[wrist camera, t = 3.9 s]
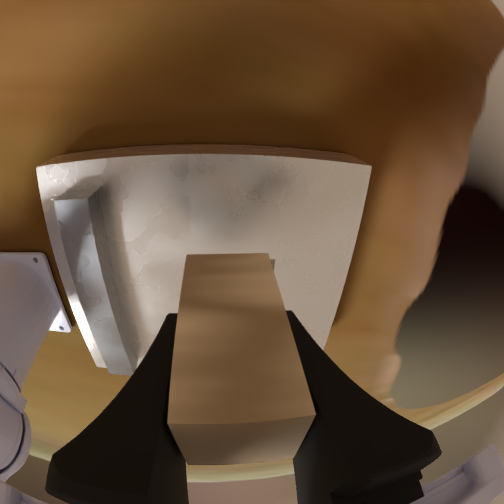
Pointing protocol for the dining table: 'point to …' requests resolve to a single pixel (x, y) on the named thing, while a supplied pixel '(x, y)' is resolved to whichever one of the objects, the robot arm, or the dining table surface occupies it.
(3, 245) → the dining table surface
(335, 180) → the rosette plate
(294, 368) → the peg
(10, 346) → the robot arm
